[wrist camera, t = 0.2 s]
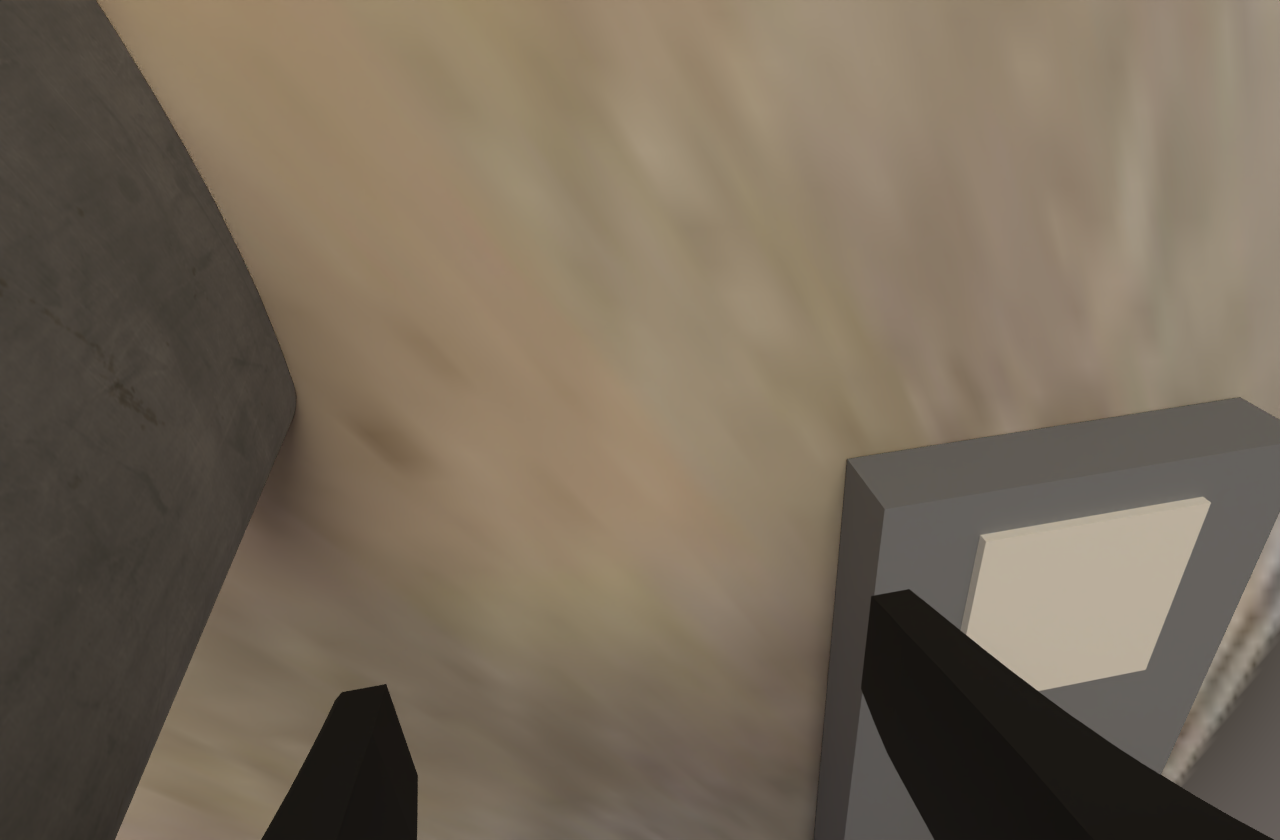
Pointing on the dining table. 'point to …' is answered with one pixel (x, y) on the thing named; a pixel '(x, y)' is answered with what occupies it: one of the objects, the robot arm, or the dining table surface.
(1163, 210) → the dining table surface
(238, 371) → the hip flask
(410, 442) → the dining table surface
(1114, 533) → the pocket plate
